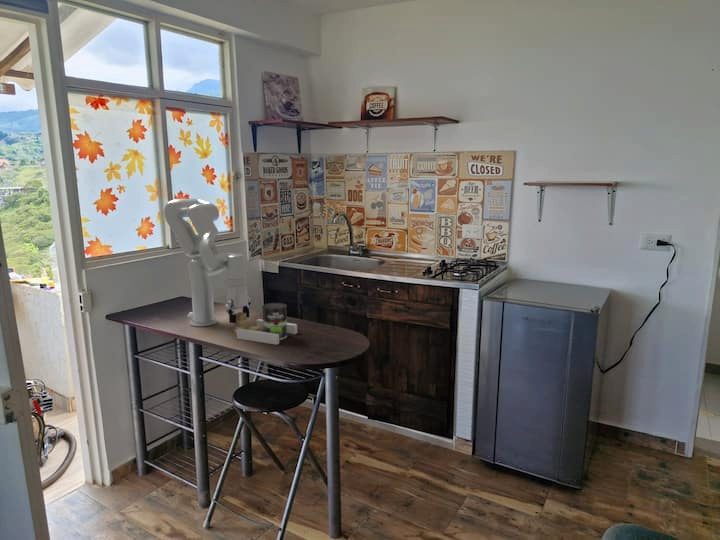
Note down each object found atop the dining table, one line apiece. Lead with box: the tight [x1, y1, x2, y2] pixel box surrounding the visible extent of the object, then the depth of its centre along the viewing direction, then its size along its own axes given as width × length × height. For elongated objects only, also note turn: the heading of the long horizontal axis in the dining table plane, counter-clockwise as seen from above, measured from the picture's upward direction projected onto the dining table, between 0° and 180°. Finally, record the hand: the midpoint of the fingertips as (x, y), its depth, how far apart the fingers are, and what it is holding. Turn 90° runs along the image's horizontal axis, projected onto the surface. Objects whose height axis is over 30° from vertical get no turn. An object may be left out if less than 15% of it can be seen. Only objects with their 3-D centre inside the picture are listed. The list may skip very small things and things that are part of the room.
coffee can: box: [261, 302, 288, 341], centre depth 214 cm, size 10×10×14 cm
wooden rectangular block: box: [233, 311, 263, 334], centre depth 220 cm, size 12×4×8 cm, turn 67°
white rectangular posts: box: [235, 318, 298, 346], centre depth 217 cm, size 20×17×4 cm
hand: (239, 319), depth 221 cm, fingers open, 9 cm apart
